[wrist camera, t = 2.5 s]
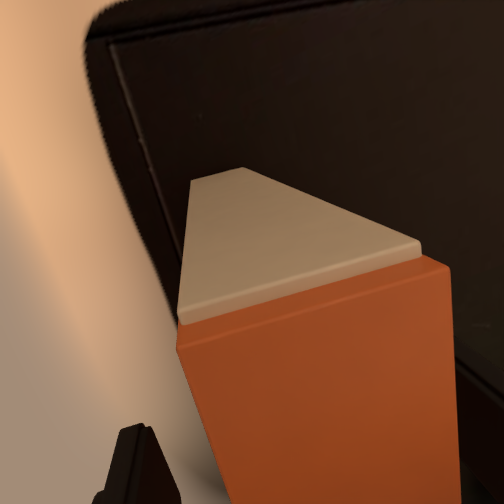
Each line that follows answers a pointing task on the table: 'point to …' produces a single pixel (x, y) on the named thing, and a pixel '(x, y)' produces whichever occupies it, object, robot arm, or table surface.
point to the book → (316, 349)
